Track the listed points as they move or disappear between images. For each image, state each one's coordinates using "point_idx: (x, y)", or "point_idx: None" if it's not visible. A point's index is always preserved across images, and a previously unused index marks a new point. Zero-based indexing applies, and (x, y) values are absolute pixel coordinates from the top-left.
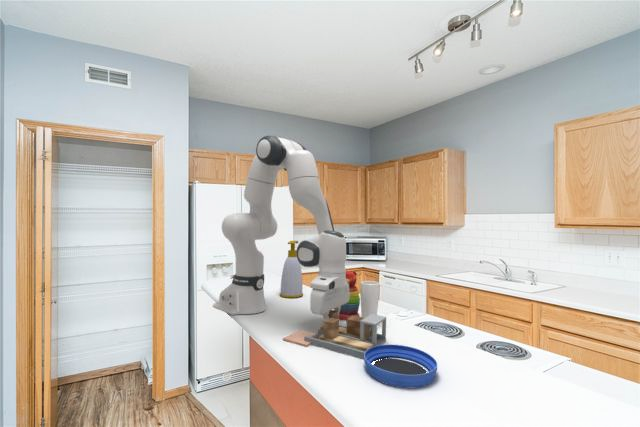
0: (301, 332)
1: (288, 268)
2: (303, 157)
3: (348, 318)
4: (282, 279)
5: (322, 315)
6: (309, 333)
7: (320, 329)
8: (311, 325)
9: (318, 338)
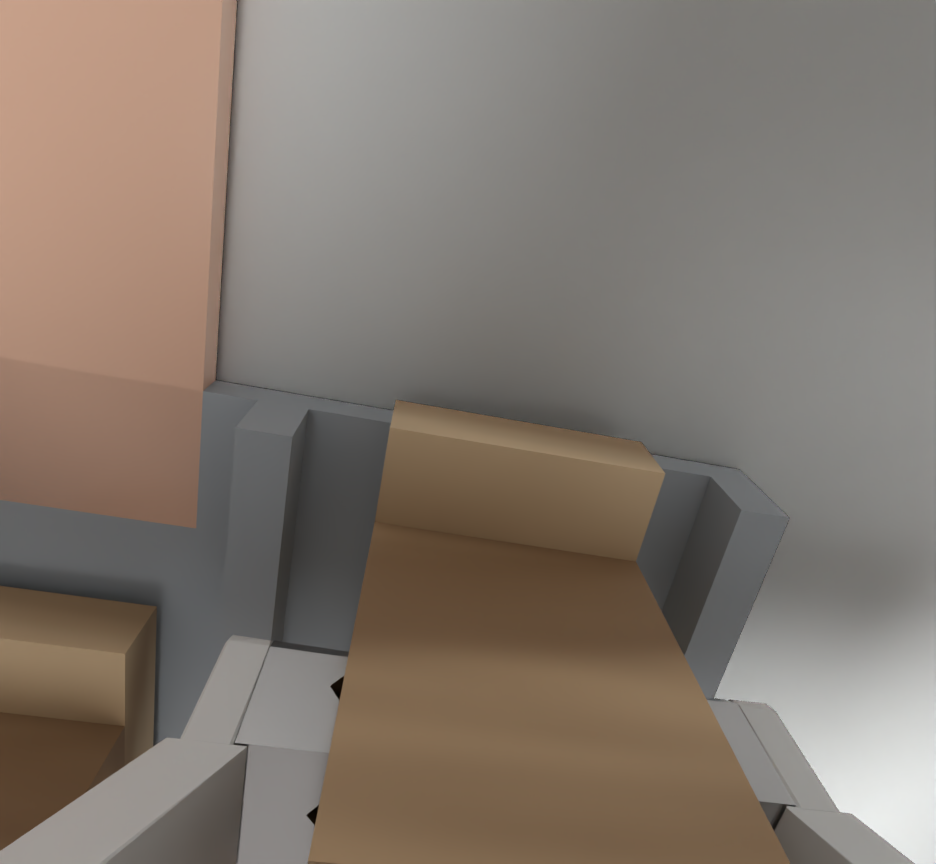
0: (95, 28)
1: None
2: None
3: None
4: None
5: (28, 846)
6: (154, 246)
7: (284, 473)
8: (800, 13)
9: (29, 507)
